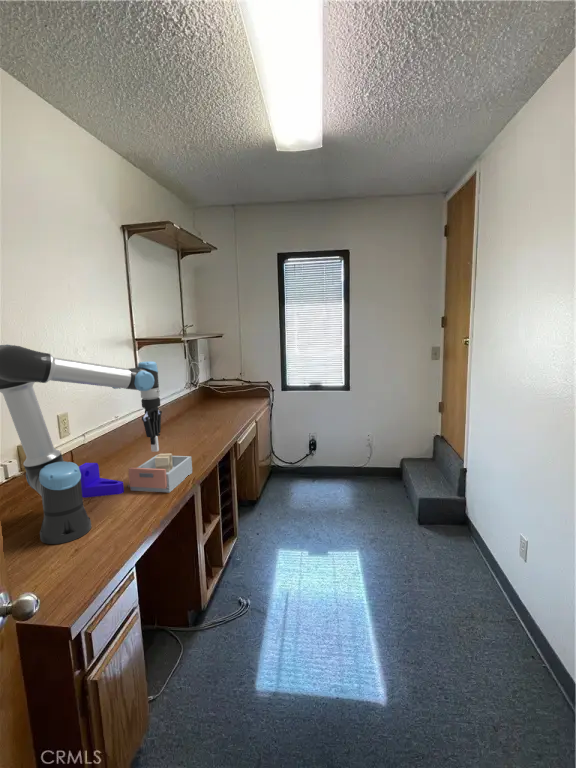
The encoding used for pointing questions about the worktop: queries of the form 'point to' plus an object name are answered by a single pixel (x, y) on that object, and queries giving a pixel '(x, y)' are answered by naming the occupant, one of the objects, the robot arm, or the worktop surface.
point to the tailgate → (147, 477)
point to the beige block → (164, 462)
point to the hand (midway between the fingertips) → (155, 450)
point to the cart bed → (169, 473)
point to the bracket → (97, 482)
